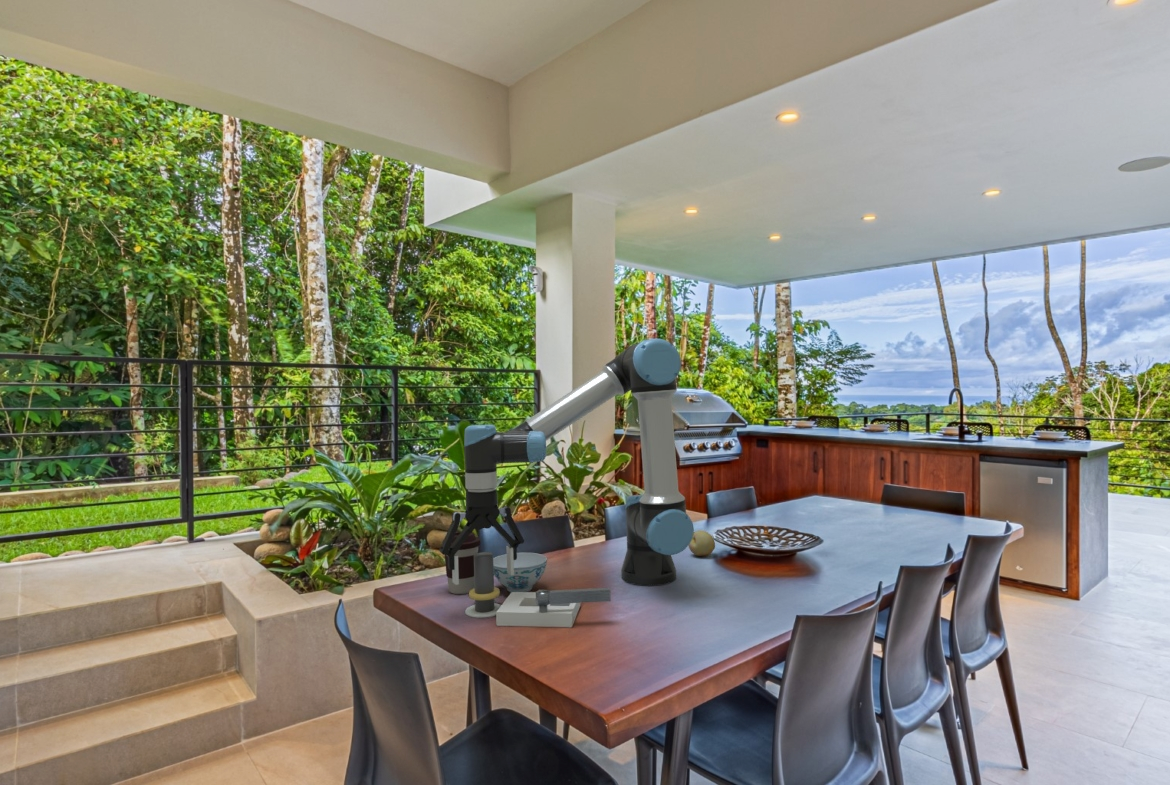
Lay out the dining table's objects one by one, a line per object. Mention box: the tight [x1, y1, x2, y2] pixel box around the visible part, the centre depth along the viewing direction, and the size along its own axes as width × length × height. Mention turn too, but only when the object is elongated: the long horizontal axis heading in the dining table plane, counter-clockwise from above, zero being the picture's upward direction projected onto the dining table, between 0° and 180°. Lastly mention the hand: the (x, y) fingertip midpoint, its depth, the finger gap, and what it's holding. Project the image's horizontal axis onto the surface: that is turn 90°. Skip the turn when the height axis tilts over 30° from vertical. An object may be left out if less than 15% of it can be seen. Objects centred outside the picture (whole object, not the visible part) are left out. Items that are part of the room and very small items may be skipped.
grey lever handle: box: [535, 587, 612, 606], centre depth 134 cm, size 17×3×2 cm, turn 94°
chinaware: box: [493, 552, 548, 593], centre depth 159 cm, size 15×15×8 cm
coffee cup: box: [441, 531, 481, 595], centre depth 159 cm, size 10×10×15 cm
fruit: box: [687, 530, 716, 557], centre depth 187 cm, size 8×8×8 cm
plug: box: [468, 551, 500, 613], centre depth 143 cm, size 7×7×13 cm
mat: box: [464, 602, 502, 619], centre depth 143 cm, size 9×9×1 cm
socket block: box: [495, 591, 582, 628], centre depth 139 cm, size 17×14×4 cm
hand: (483, 578), depth 143 cm, fingers open, 13 cm apart
